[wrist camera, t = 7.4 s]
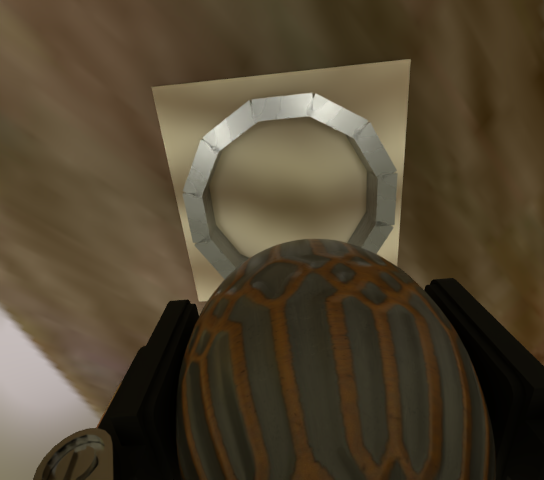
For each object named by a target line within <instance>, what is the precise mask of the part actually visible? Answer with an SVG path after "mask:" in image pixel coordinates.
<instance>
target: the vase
mask: <svg viewBox="0 0 544 480" xmlns="http://www.w3.org/2000/svg"><path fill="white" fill-rule="evenodd" d="M176 444H177V455H178V464H179V469H180V475H181V480H495V477H496V461H495V444H494V437H493V431H492V425H491V420H490V416H489V412H488V408H487V404H486V401H485V397H484V394H483V391H482V388H481V385H480V382H479V379H478V376H477V374H476V371H475V369H474V366H473V364H472V361H471V359H470V357H469V354H468V352H467V350H466V348H465V347H464V345H463V343H462V341H461V339H460V337H459V335H458V334H457V332H456V330H455V329H454V327H453V326H452V324H451V323H450V321H449V320H448V319H447V317H446V316H445V315H444V313H443V312H442V310H441V309H440V308H439V307H438V306H437V304H436V303H435V302H434V301H433V300H432V299H431V297H430V296H429V295H428V294H427V293H426V292H425V291H424V290H423V289H422V288H421V287H420V286H419V285H418V284H417V283H416V282H415V281H414V280H413V279H412V278H411V277H410V276H409V275H408V274H406V273H405V272H404V271H403V270H401V269H400V268H399V267H397V266H396V265H394V264H393V263H391V262H389V261H388V260H386V259H385V258H383V257H381V256H379V255H377V254H376V253H373V252H371V251H369V250H367V249H364V248H361V247H359V246H356V245H353V244H350V243H346V242H342V241H337V240H330V239H301V240H294V241H289V242H285V243H282V244H279V245H275V246H273V247H270V248H268V249H265V250H263V251H261V252H259V253H257V254H255V255H254V256H252V257H250V258H249V259H248V260H246V261H245V262H243V263H242V264H241V265H240V266H238V267H237V268H236V269H235V270H234V271H233V272H231V273H230V274H229V275H228V276H227V277H226V278H225V279H224V280H223V282H222V283H221V284H220V285H219V286H218V288H217V289H216V290H215V291H214V293H213V294H212V295H211V297H210V298H209V300H208V301H207V303H206V305H205V306H204V308H203V310H202V312H201V314H200V316H199V318H198V320H197V322H196V324H195V326H194V329H193V331H192V334H191V336H190V339H189V342H188V345H187V347H186V351H185V354H184V357H183V361H182V365H181V369H180V374H179V381H178V388H177V396H176Z"/></svg>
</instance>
